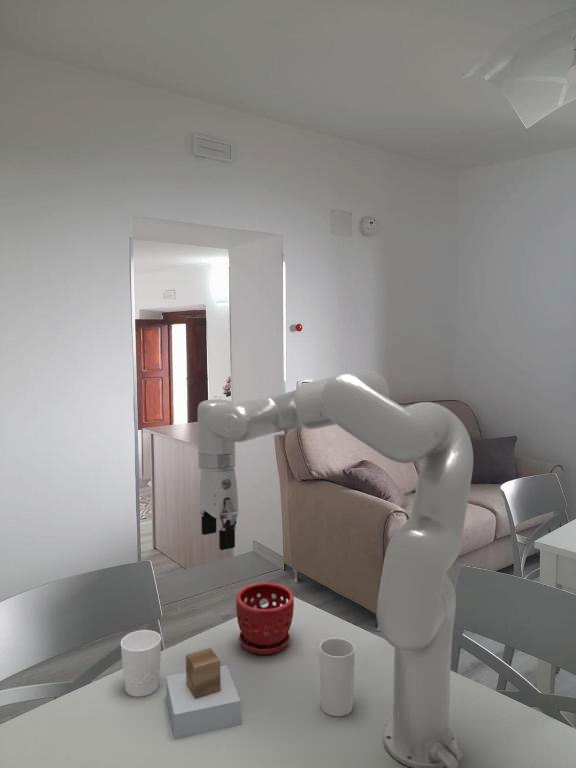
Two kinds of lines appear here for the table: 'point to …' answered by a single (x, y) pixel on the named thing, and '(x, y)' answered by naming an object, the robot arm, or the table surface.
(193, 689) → the walnut block
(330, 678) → the mug
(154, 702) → the table surface
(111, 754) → the table surface
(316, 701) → the table surface
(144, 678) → the white cup
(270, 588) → the plant pot
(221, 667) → the grey block
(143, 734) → the table surface
